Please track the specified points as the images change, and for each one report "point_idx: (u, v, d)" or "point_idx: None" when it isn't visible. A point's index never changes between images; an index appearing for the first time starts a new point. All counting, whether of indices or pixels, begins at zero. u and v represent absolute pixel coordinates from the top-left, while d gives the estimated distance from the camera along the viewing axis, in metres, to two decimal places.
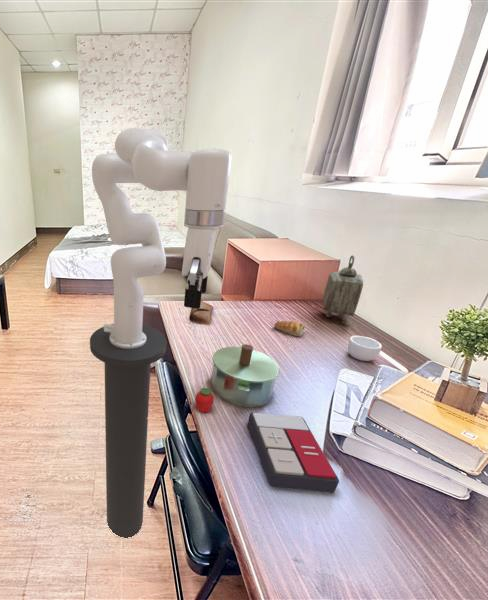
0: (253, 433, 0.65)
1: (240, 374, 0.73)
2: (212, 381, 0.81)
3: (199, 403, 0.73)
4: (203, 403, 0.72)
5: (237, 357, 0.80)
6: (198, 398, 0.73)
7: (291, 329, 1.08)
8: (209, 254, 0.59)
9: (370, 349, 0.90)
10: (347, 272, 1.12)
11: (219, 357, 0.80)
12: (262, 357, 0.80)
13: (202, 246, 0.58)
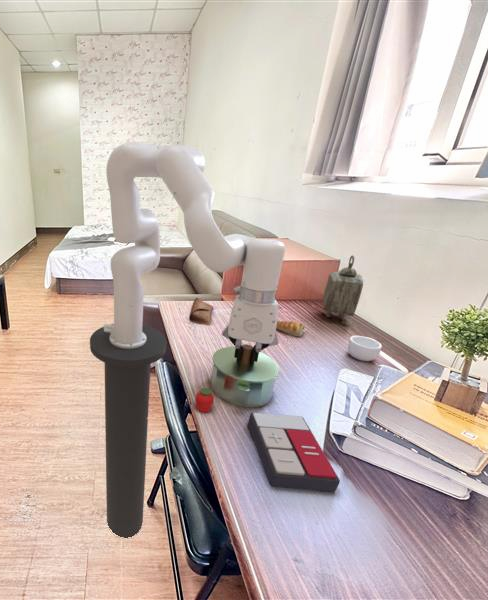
0: (254, 433, 0.65)
1: (240, 374, 0.73)
2: (212, 381, 0.81)
3: (199, 403, 0.73)
4: (203, 403, 0.72)
5: None
6: (198, 398, 0.73)
7: (291, 329, 1.08)
8: None
9: (370, 349, 0.90)
10: (347, 272, 1.12)
11: (219, 357, 0.80)
12: (262, 357, 0.80)
13: None
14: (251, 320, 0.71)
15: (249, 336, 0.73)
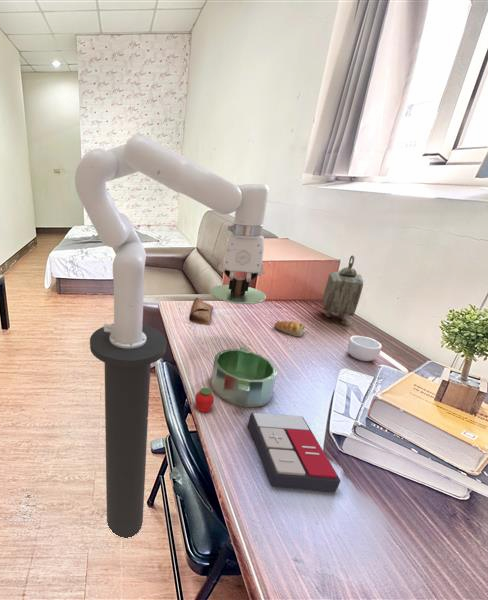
0: (254, 433, 0.65)
1: (233, 299, 0.89)
2: (212, 381, 0.81)
3: (199, 403, 0.73)
4: (203, 403, 0.72)
5: None
6: (198, 398, 0.73)
7: (291, 329, 1.08)
8: None
9: (370, 349, 0.90)
10: (347, 272, 1.12)
11: (216, 290, 0.95)
12: (252, 290, 0.95)
13: None
14: (242, 252, 0.86)
15: (240, 267, 0.88)
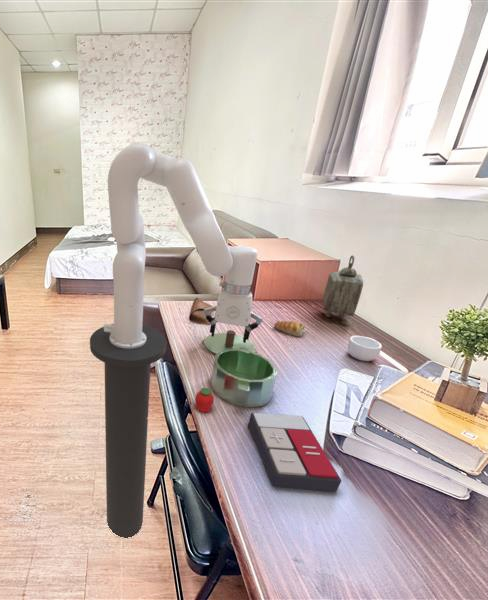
0: (255, 433, 0.65)
1: None
2: (212, 381, 0.81)
3: (199, 403, 0.73)
4: (203, 403, 0.72)
5: (223, 340, 1.02)
6: (198, 398, 0.73)
7: (291, 329, 1.08)
8: None
9: (370, 349, 0.90)
10: (347, 272, 1.12)
11: (209, 340, 1.02)
12: None
13: None
14: (232, 308, 0.93)
15: (230, 320, 0.94)
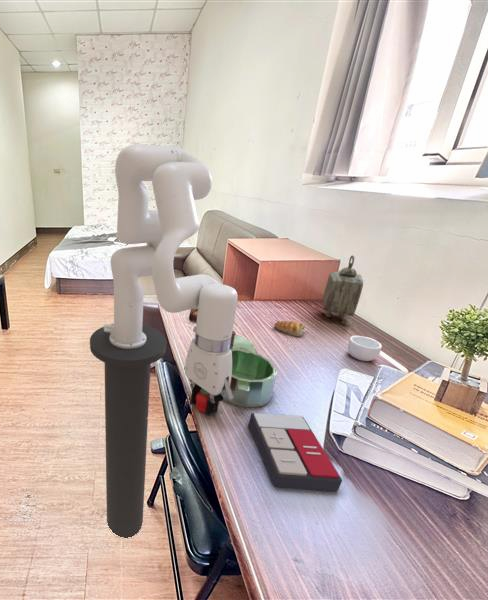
0: (255, 433, 0.64)
1: None
2: None
3: (199, 403, 0.73)
4: (203, 403, 0.72)
5: None
6: (198, 398, 0.73)
7: (291, 329, 1.08)
8: None
9: (370, 349, 0.90)
10: (347, 272, 1.12)
11: None
12: (243, 340, 1.02)
13: (230, 367, 0.66)
14: (199, 365, 0.69)
15: (198, 380, 0.70)
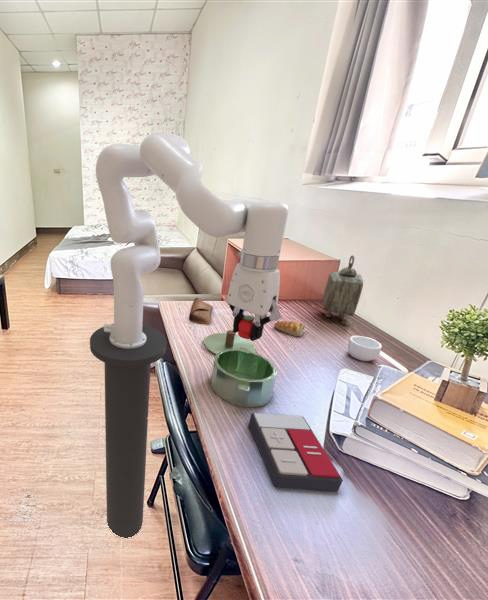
0: (255, 433, 0.64)
1: None
2: (212, 381, 0.81)
3: (243, 329, 0.72)
4: (247, 329, 0.72)
5: (223, 340, 1.02)
6: (241, 325, 0.73)
7: (291, 329, 1.08)
8: None
9: (370, 349, 0.90)
10: (347, 272, 1.12)
11: (209, 340, 1.02)
12: (243, 340, 1.02)
13: (278, 285, 0.66)
14: (245, 287, 0.69)
15: (243, 304, 0.70)
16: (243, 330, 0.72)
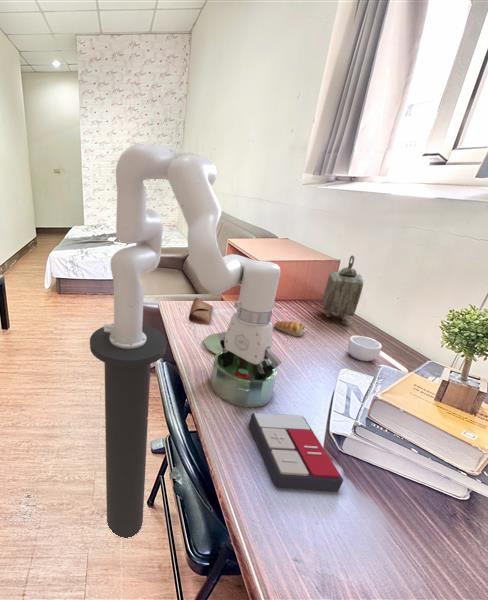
0: (256, 434, 0.64)
1: None
2: (212, 381, 0.81)
3: None
4: None
5: None
6: None
7: (291, 329, 1.08)
8: None
9: (370, 349, 0.90)
10: (347, 272, 1.12)
11: (209, 340, 1.02)
12: None
13: (271, 337, 0.71)
14: (240, 336, 0.74)
15: (238, 352, 0.76)
16: None
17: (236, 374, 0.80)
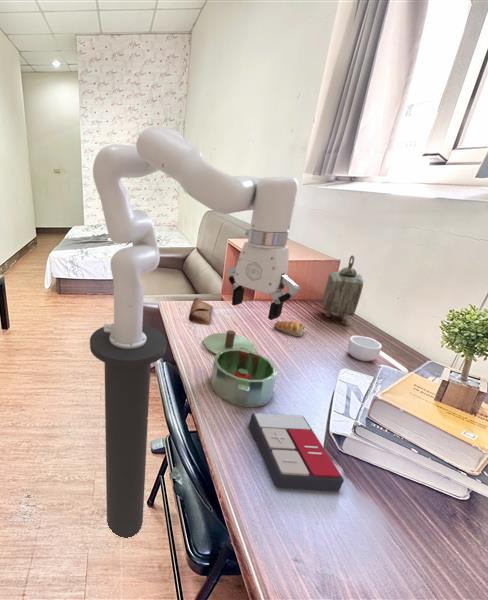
0: (256, 434, 0.64)
1: None
2: (212, 381, 0.81)
3: None
4: None
5: (223, 340, 1.02)
6: None
7: (291, 329, 1.08)
8: None
9: (370, 349, 0.90)
10: (347, 272, 1.12)
11: (209, 340, 1.02)
12: (243, 340, 1.02)
13: (286, 262, 0.65)
14: (253, 265, 0.68)
15: (250, 283, 0.69)
16: None
17: (236, 374, 0.80)
